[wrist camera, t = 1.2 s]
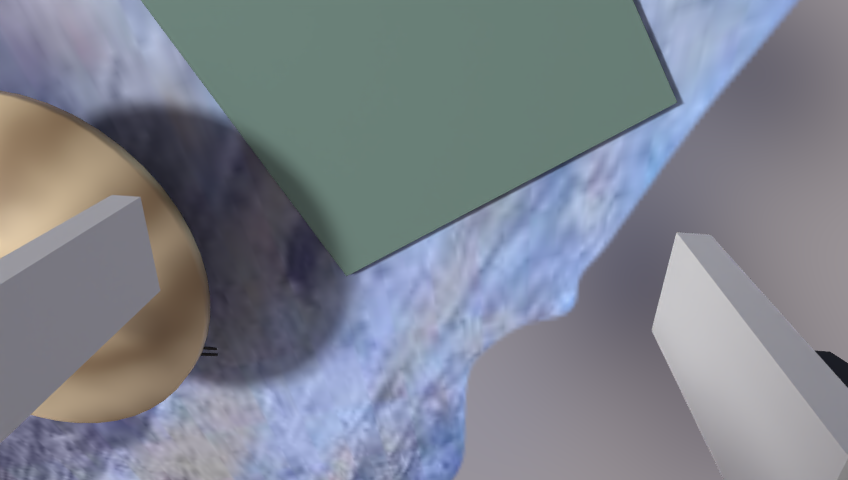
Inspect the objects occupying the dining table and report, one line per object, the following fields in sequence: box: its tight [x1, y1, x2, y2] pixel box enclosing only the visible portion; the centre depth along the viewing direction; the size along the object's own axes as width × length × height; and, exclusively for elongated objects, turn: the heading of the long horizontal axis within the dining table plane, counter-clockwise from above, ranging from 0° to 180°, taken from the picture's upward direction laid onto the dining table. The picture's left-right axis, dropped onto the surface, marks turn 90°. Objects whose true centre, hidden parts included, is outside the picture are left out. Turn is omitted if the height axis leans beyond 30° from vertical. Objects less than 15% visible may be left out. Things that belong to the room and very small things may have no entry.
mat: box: [141, 0, 677, 276], centre depth 37 cm, size 28×28×1 cm
